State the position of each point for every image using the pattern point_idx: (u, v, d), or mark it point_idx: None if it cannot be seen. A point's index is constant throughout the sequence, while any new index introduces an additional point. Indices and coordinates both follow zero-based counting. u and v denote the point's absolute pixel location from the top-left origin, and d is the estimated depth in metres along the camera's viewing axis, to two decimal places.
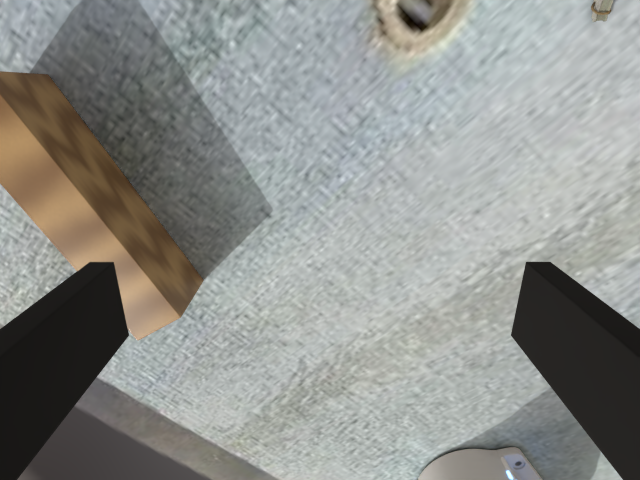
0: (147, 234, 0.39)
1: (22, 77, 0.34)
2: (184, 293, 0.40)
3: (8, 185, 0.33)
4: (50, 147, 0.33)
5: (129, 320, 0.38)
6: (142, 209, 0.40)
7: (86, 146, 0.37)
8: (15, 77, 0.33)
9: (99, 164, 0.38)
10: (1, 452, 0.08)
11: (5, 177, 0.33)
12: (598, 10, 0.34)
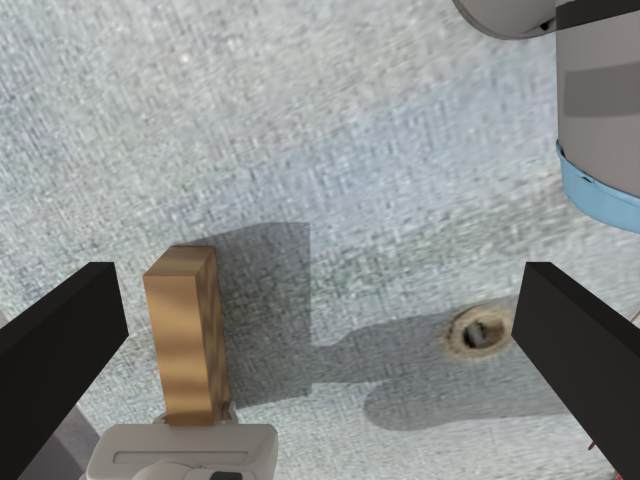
0: (220, 383, 0.49)
1: (206, 263, 0.43)
2: None
3: (158, 340, 0.42)
4: (204, 329, 0.42)
5: None
6: (223, 357, 0.50)
7: (215, 311, 0.47)
8: (204, 267, 0.42)
9: (216, 325, 0.47)
10: (1, 452, 0.08)
11: (159, 334, 0.41)
12: None
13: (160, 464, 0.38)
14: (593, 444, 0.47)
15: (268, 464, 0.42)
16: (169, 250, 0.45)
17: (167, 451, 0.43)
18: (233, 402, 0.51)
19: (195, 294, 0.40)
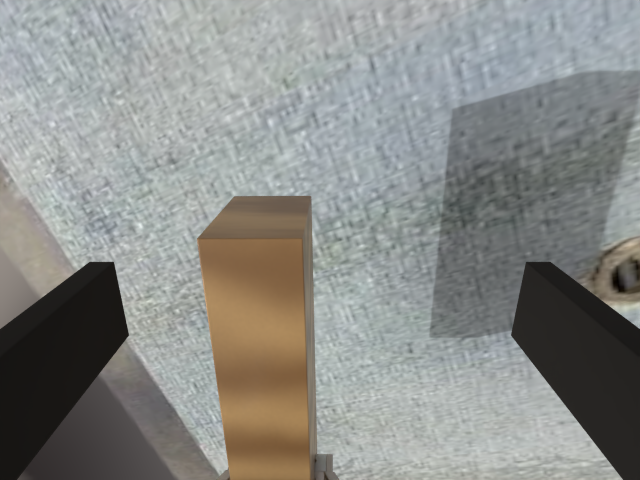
0: None
1: None
2: None
3: (222, 363, 0.22)
4: (307, 343, 0.22)
5: None
6: (314, 384, 0.31)
7: None
8: (307, 226, 0.22)
9: (312, 334, 0.28)
10: (1, 452, 0.08)
11: (226, 353, 0.22)
12: None
13: None
14: None
15: None
16: (234, 201, 0.26)
17: None
18: (330, 457, 0.31)
19: (301, 276, 0.20)
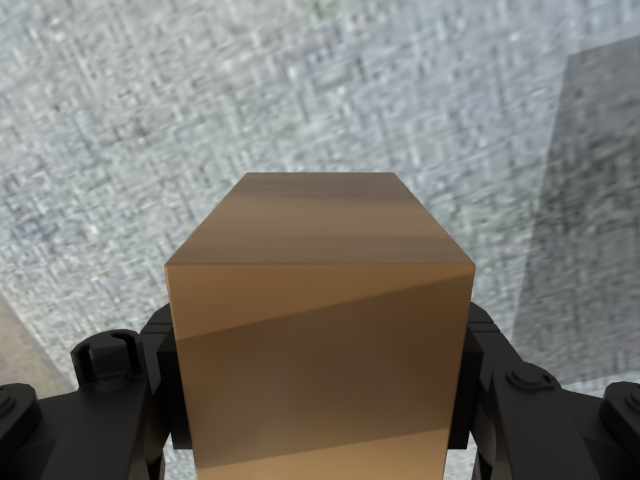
0: None
1: None
2: None
3: None
4: None
5: None
6: None
7: None
8: None
9: None
10: None
11: None
12: None
13: None
14: None
15: None
16: (250, 179, 0.13)
17: None
18: None
19: (454, 366, 0.07)
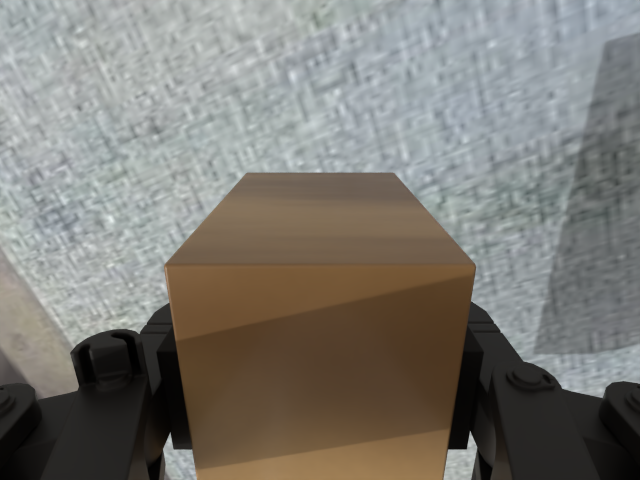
0: None
1: None
2: None
3: None
4: None
5: None
6: None
7: None
8: None
9: None
10: None
11: None
12: None
13: None
14: None
15: None
16: (250, 180, 0.13)
17: None
18: None
19: (454, 367, 0.07)
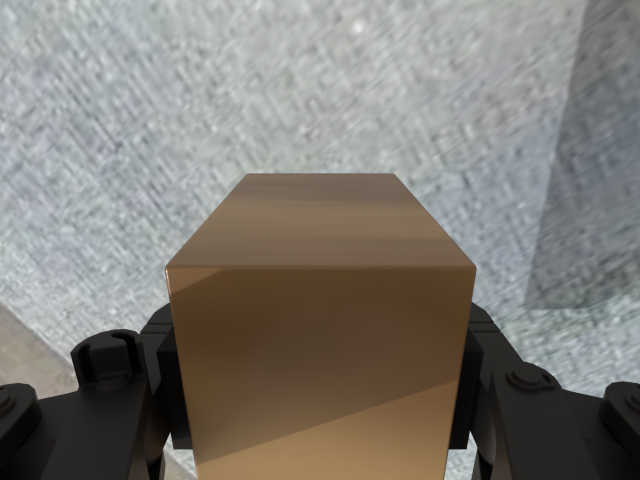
0: None
1: None
2: None
3: None
4: None
5: None
6: None
7: None
8: None
9: None
10: None
11: None
12: None
13: None
14: None
15: None
16: (250, 180, 0.13)
17: None
18: None
19: (455, 368, 0.07)
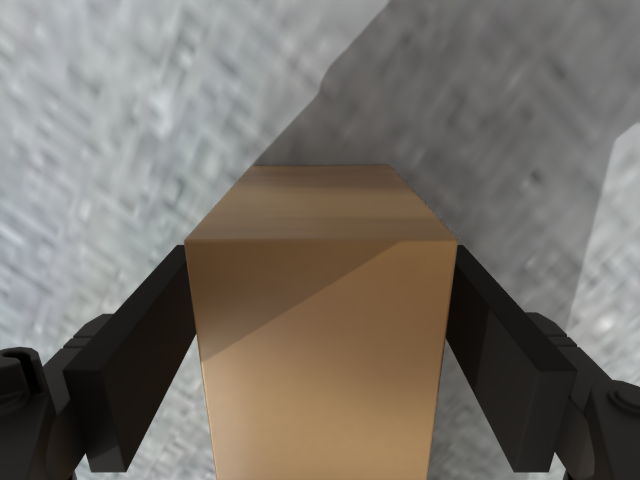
0: None
1: None
2: None
3: None
4: None
5: None
6: None
7: None
8: None
9: None
10: (142, 400, 0.09)
11: None
12: None
13: None
14: None
15: None
16: (255, 171, 0.14)
17: None
18: None
19: (440, 331, 0.08)
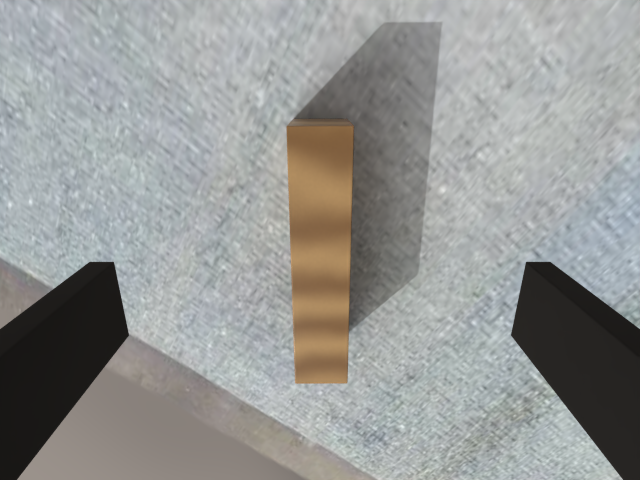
0: None
1: None
2: None
3: (295, 218, 0.33)
4: None
5: (302, 365, 0.39)
6: None
7: None
8: None
9: None
10: (1, 452, 0.08)
11: (298, 210, 0.33)
12: None
13: None
14: None
15: None
16: (295, 119, 0.37)
17: None
18: None
19: (351, 152, 0.31)
